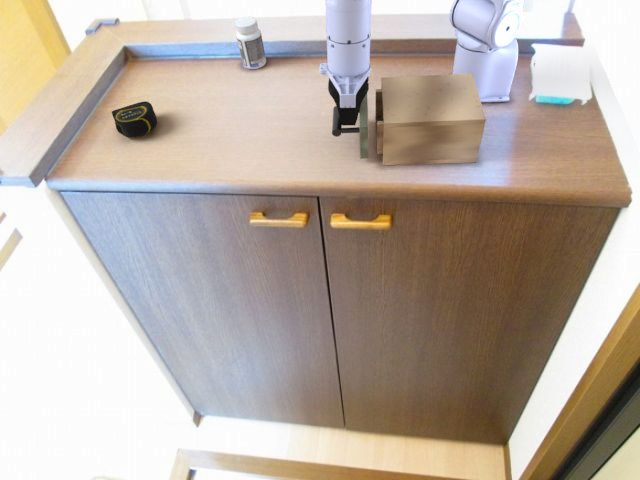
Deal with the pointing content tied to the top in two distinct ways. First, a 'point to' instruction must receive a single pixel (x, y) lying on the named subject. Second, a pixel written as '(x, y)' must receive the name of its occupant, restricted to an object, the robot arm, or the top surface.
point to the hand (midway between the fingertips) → (348, 122)
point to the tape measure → (135, 119)
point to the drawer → (363, 125)
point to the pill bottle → (250, 43)
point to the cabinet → (431, 119)
